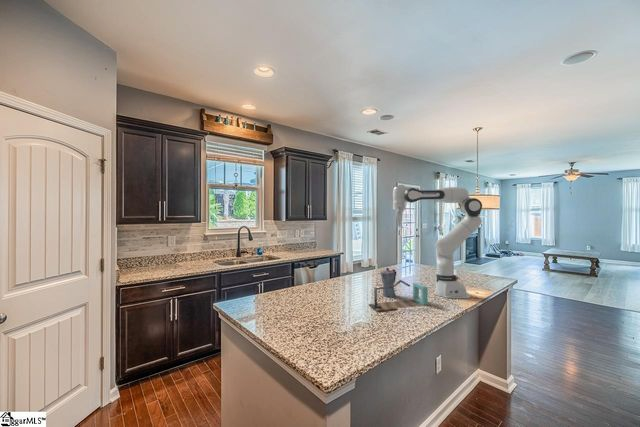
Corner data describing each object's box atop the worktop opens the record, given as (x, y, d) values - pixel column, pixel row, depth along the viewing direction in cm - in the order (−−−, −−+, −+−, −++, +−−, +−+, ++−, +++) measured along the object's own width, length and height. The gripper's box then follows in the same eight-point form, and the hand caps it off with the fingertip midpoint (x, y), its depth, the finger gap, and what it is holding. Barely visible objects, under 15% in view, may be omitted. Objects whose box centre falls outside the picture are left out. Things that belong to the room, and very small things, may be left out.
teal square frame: (417, 299, 181) (417, 282, 181) (427, 304, 171) (427, 287, 171) (413, 300, 181) (413, 283, 181) (423, 305, 170) (423, 287, 170)
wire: (407, 302, 176) (407, 278, 176) (412, 304, 172) (412, 280, 172) (370, 305, 170) (369, 281, 170) (373, 308, 165) (373, 283, 165)
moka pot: (376, 297, 190) (376, 268, 190) (389, 293, 201) (389, 265, 201) (388, 300, 183) (388, 270, 183) (401, 295, 194) (401, 267, 194)
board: (419, 300, 182) (419, 299, 182) (431, 306, 171) (431, 304, 171) (368, 305, 174) (368, 303, 174) (377, 312, 162) (377, 310, 162)
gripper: (403, 207, 194) (404, 226, 194) (403, 207, 213) (403, 225, 213) (394, 207, 195) (394, 226, 195) (395, 207, 215) (395, 225, 215)
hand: (399, 226), depth 204 cm, fingers open, 8 cm apart
